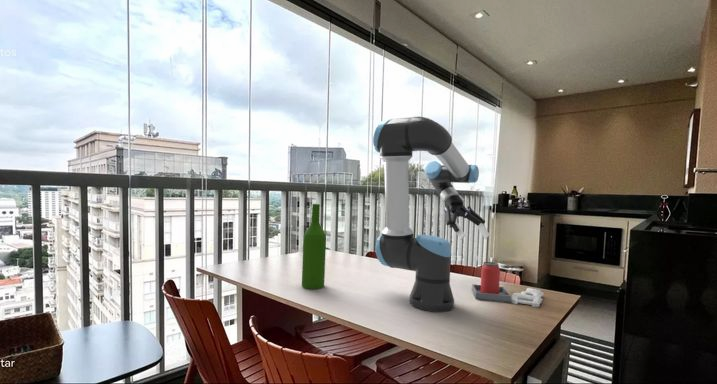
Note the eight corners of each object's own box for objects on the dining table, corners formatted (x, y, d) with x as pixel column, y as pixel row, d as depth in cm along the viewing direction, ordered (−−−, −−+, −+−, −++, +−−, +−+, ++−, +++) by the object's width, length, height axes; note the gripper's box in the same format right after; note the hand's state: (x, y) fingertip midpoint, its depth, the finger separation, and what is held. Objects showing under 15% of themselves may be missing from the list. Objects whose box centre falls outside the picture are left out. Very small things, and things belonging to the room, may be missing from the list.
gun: (516, 283, 138) (544, 288, 132) (516, 292, 138) (544, 297, 133) (509, 296, 122) (540, 303, 117) (509, 306, 123) (540, 312, 117)
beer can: (502, 295, 130) (503, 264, 130) (492, 298, 126) (494, 265, 126) (486, 291, 135) (487, 260, 135) (477, 293, 131) (478, 262, 131)
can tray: (475, 299, 126) (476, 292, 126) (471, 290, 137) (472, 284, 137) (510, 302, 123) (510, 295, 123) (503, 293, 135) (503, 287, 135)
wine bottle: (315, 281, 142) (318, 203, 142) (328, 286, 135) (331, 204, 135) (297, 285, 136) (300, 203, 136) (310, 290, 129) (313, 204, 129)
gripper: (468, 206, 162) (491, 242, 148) (425, 204, 150) (447, 243, 137) (476, 195, 157) (502, 231, 143) (433, 192, 146) (456, 231, 132)
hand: (475, 237), depth 140 cm, fingers open, 13 cm apart
